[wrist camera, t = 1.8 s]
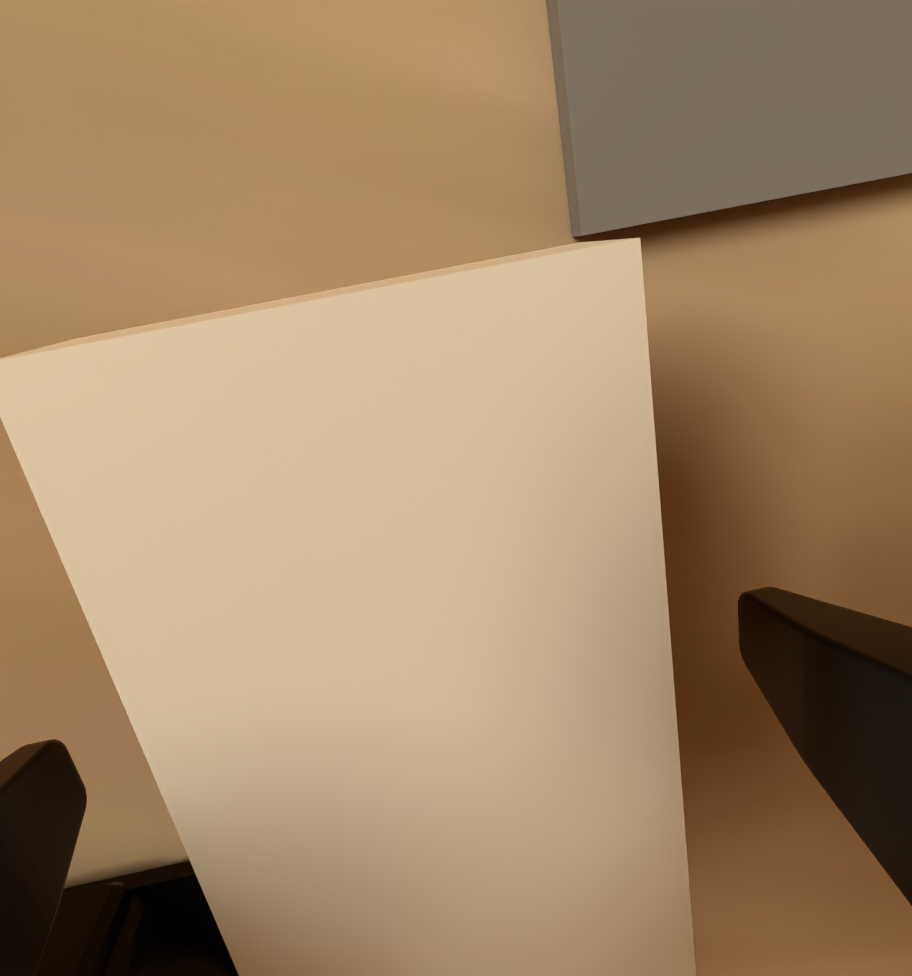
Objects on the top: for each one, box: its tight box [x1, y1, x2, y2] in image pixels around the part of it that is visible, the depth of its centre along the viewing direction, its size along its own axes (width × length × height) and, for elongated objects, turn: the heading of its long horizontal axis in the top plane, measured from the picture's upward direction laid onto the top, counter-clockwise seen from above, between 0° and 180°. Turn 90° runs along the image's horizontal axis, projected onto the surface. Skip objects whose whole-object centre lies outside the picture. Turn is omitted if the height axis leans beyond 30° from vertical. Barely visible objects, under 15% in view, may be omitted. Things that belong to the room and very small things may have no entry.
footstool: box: [0, 238, 696, 976], centre depth 10 cm, size 10×6×6 cm, turn 10°
